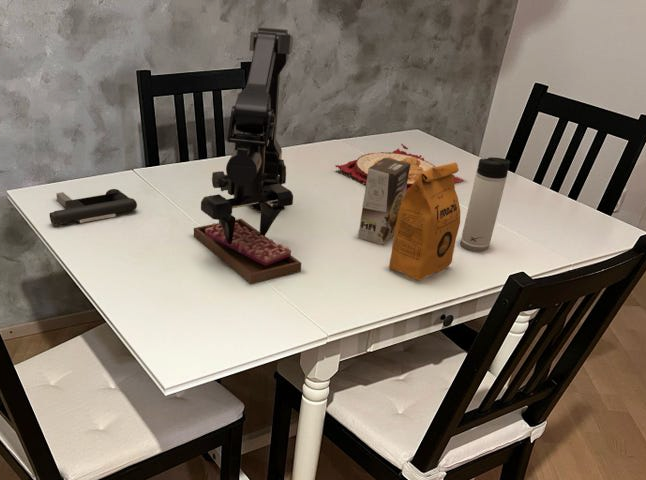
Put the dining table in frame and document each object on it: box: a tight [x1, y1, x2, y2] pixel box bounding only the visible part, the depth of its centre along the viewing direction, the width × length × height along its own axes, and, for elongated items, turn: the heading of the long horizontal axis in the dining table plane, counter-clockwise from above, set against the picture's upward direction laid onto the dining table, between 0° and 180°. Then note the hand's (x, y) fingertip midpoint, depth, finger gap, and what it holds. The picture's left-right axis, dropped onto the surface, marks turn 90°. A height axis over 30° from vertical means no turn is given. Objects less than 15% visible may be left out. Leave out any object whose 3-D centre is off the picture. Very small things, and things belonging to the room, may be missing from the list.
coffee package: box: [388, 162, 461, 281], centre depth 148 cm, size 10×12×22 cm
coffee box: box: [357, 158, 411, 246], centre depth 163 cm, size 9×6×16 cm
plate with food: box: [334, 143, 464, 194], centre depth 198 cm, size 24×26×3 cm
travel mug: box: [459, 156, 511, 253], centre depth 159 cm, size 6×7×20 cm
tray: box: [193, 218, 302, 285], centre depth 156 cm, size 12×24×2 cm, turn 32°
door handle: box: [49, 188, 138, 225], centre depth 170 cm, size 3×20×16 cm
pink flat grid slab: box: [205, 220, 292, 266], centre depth 155 cm, size 7×19×2 cm, turn 44°
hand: (245, 239), depth 155 cm, fingers closed on pink flat grid slab, 8 cm apart
